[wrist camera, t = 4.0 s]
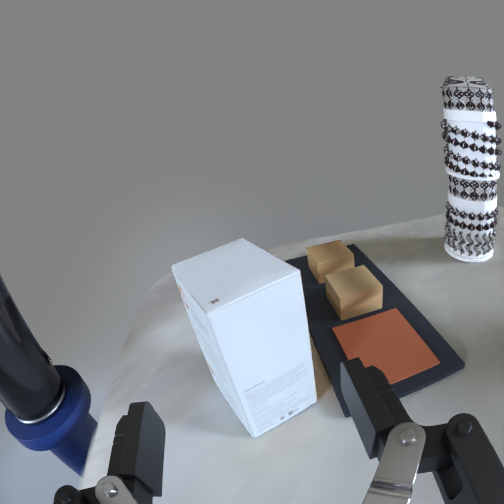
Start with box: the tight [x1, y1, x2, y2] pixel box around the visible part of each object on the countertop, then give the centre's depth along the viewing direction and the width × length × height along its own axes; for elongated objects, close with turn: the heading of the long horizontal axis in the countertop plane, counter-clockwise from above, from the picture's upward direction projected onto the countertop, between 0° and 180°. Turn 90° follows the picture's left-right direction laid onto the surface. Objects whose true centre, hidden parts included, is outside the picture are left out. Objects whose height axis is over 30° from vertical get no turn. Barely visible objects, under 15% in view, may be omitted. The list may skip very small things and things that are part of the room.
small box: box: [171, 238, 317, 438], centre depth 23 cm, size 8×6×13 cm
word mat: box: [285, 244, 465, 418], centre depth 34 cm, size 12×28×1 cm, turn 7°
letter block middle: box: [325, 265, 383, 321], centre depth 33 cm, size 5×5×3 cm
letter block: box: [306, 240, 354, 284], centre depth 41 cm, size 5×5×3 cm
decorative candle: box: [441, 76, 502, 262], centre depth 33 cm, size 9×9×25 cm
